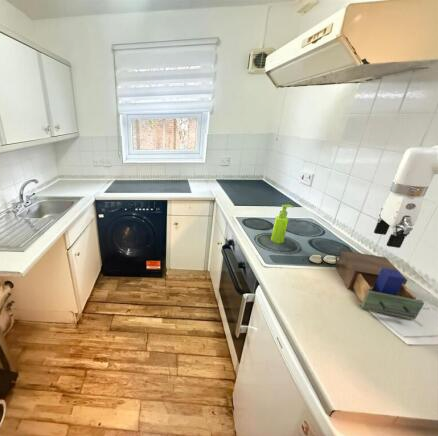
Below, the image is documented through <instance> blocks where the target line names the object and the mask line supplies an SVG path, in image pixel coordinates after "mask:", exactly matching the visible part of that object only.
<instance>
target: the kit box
mask: <svg viewBox="0 0 438 436" xmlns="http://www.w3.org/2000/svg"><path fill="white" fill-rule="evenodd" d="M397 270H398V269H397ZM397 270H392V269H386V268H382V269H381V271H380V274H379V276H378V278H377V280H376V282H375V285H374V287H373V289H372V291H375V292H380V293H385V294H391V295H397V293H398V292H399V290H400V288H401V286H402V284H403V282H404V280H405V278H406V277H405V276H404V275H403V274H402V273H401V272H400V271H399V270H398V271H399V272H400V273H401V274H402V275H403V276H404V277H405V278H404V277H403V276H402V275H401V274H400V273H399V272H398V271H397Z"/></svg>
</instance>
